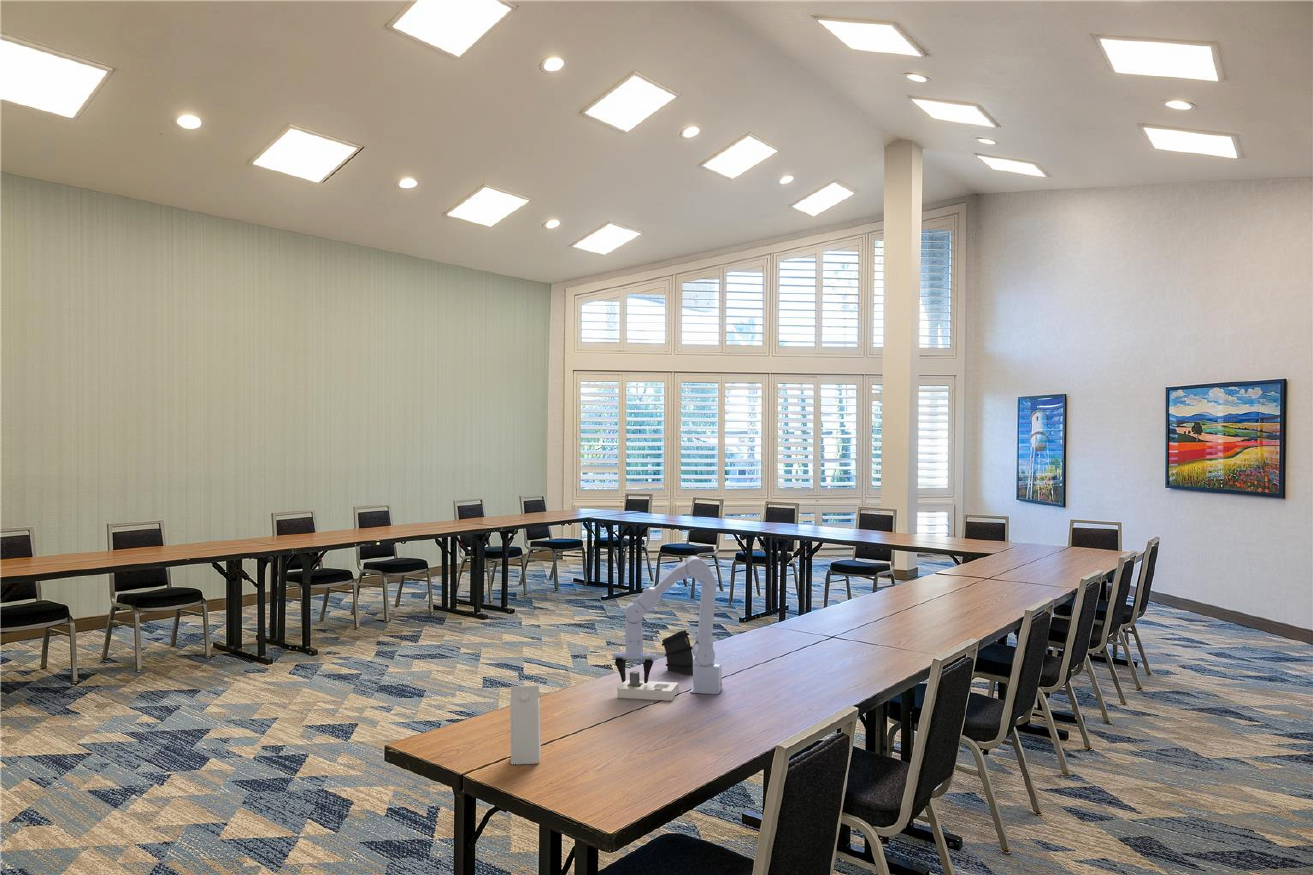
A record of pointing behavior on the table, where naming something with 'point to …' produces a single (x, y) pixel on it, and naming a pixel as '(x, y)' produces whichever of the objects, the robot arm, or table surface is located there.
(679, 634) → the magazine
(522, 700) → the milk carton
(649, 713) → the table surface
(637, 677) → the plug
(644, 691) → the socket box
